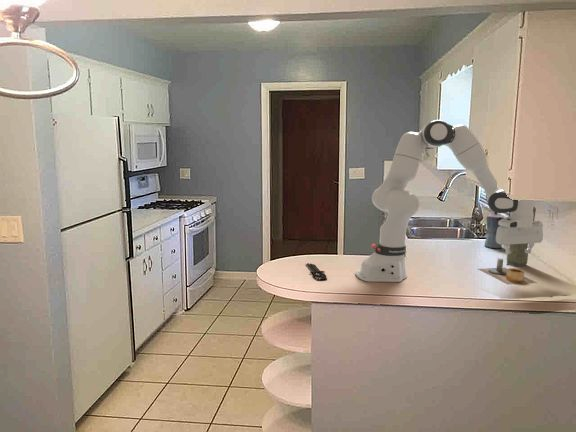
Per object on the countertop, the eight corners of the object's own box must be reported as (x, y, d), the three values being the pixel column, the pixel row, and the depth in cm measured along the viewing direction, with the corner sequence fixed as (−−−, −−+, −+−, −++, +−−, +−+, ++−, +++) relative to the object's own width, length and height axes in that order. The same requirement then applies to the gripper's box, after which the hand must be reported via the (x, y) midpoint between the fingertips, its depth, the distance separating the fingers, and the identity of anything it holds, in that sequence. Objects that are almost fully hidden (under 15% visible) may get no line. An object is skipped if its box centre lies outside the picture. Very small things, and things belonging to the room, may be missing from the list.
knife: (304, 264, 231) (304, 261, 231) (318, 264, 232) (318, 261, 232) (313, 281, 206) (313, 278, 206) (328, 281, 207) (328, 278, 206)
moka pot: (495, 243, 276) (499, 209, 272) (508, 250, 260) (512, 214, 257) (479, 243, 275) (482, 209, 271) (491, 250, 260) (494, 214, 256)
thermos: (525, 271, 224) (533, 196, 217) (500, 265, 232) (507, 193, 226) (533, 267, 229) (541, 195, 223) (508, 262, 238) (515, 192, 232)
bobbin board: (507, 287, 200) (509, 270, 199) (477, 272, 221) (478, 256, 220) (537, 285, 203) (538, 268, 201) (504, 270, 224) (505, 255, 223)
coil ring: (513, 282, 202) (513, 273, 201) (503, 277, 209) (504, 268, 208) (526, 281, 204) (527, 272, 203) (516, 276, 210) (517, 268, 209)
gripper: (537, 219, 207) (534, 250, 209) (494, 221, 203) (492, 252, 205) (548, 222, 201) (544, 254, 203) (504, 224, 197) (501, 256, 199)
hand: (518, 253), depth 204 cm, fingers open, 8 cm apart
